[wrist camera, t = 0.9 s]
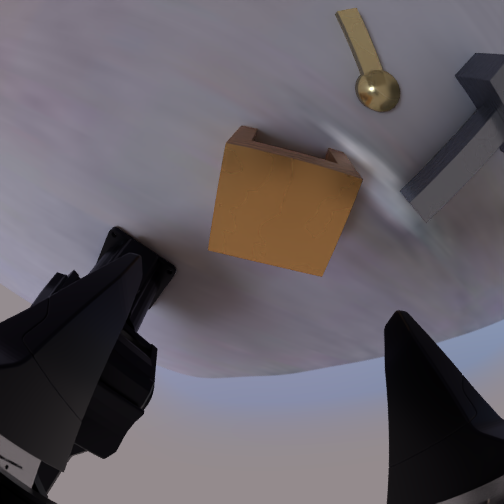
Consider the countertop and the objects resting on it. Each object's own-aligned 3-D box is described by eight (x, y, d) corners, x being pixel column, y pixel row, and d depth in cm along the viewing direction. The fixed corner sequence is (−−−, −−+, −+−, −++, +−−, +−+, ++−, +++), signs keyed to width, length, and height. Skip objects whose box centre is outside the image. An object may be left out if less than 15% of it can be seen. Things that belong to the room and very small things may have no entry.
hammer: (428, 226, 18) (451, 256, 15) (372, 161, 16) (392, 184, 13) (519, 128, 12) (551, 144, 9) (475, 53, 10) (510, 55, 7)
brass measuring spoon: (398, 105, 14) (404, 106, 13) (362, 114, 15) (366, 116, 14) (362, 9, 11) (367, 6, 10) (323, 17, 12) (325, 13, 11)
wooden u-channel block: (315, 231, 20) (322, 276, 16) (224, 209, 20) (207, 250, 16) (343, 152, 16) (362, 179, 12) (241, 125, 16) (225, 143, 12)
